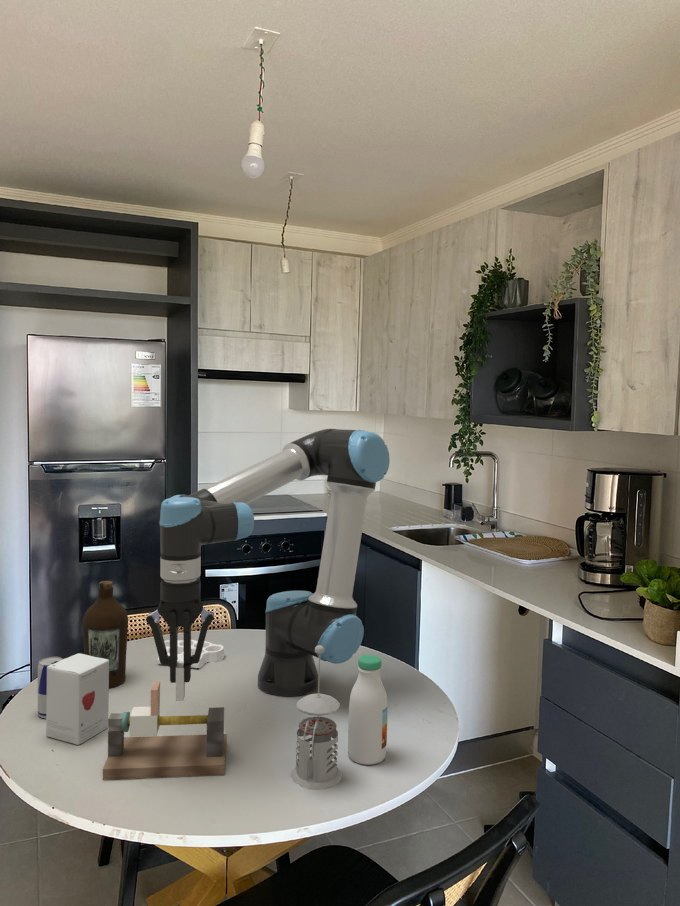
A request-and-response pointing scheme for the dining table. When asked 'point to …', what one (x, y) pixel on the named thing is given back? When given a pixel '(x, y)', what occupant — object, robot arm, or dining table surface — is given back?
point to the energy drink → (44, 683)
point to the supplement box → (77, 698)
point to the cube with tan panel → (146, 716)
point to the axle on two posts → (166, 749)
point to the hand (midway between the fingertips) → (180, 697)
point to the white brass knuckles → (208, 653)
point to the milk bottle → (368, 714)
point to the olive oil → (107, 632)
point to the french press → (317, 741)
